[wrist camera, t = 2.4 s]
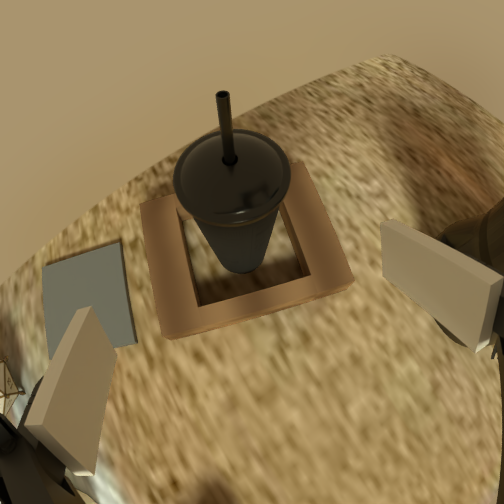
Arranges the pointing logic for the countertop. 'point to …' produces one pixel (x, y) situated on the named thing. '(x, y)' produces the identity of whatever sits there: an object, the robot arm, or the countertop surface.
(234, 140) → the drinking cup
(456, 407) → the countertop surface
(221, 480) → the countertop surface
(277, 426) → the countertop surface
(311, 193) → the holder frame
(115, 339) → the slate mat
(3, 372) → the game die
